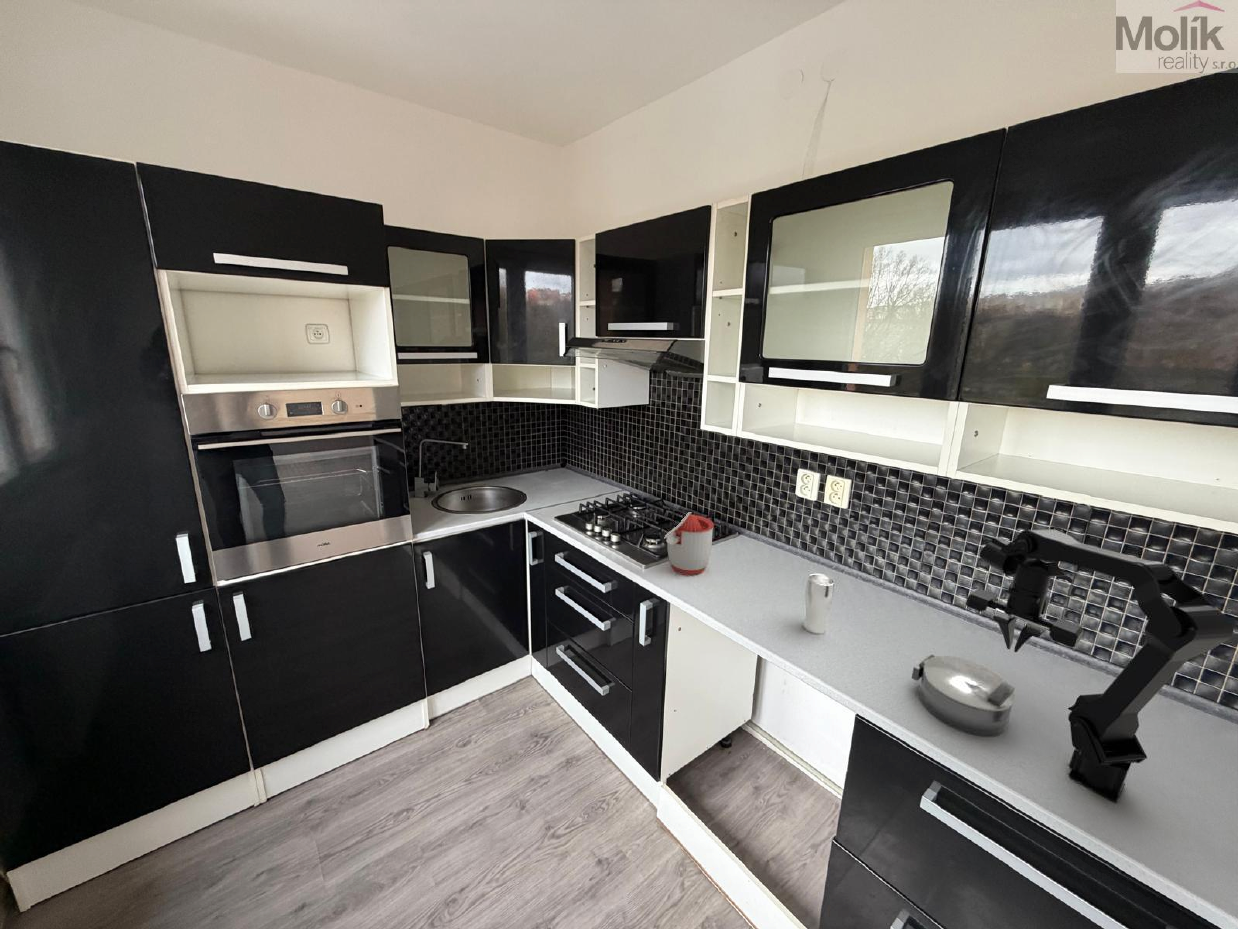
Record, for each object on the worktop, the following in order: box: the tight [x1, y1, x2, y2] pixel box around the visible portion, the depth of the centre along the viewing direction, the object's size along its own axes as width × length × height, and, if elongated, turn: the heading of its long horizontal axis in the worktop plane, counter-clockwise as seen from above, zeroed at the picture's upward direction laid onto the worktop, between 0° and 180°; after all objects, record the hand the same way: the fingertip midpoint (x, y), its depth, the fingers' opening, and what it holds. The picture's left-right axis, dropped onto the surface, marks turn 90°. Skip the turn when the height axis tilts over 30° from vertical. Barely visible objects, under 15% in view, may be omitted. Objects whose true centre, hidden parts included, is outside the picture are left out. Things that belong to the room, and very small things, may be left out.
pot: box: [911, 655, 1014, 738], centre depth 106 cm, size 17×16×6 cm
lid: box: [919, 654, 1015, 711], centre depth 104 cm, size 16×16×2 cm
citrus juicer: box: [665, 513, 715, 576], centre depth 165 cm, size 16×17×20 cm
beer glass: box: [802, 573, 835, 635], centre depth 132 cm, size 7×7×15 cm
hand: (1012, 650), depth 105 cm, fingers closed
